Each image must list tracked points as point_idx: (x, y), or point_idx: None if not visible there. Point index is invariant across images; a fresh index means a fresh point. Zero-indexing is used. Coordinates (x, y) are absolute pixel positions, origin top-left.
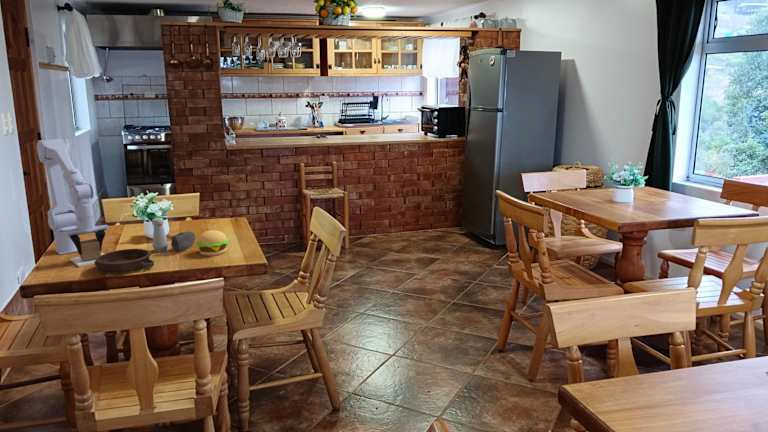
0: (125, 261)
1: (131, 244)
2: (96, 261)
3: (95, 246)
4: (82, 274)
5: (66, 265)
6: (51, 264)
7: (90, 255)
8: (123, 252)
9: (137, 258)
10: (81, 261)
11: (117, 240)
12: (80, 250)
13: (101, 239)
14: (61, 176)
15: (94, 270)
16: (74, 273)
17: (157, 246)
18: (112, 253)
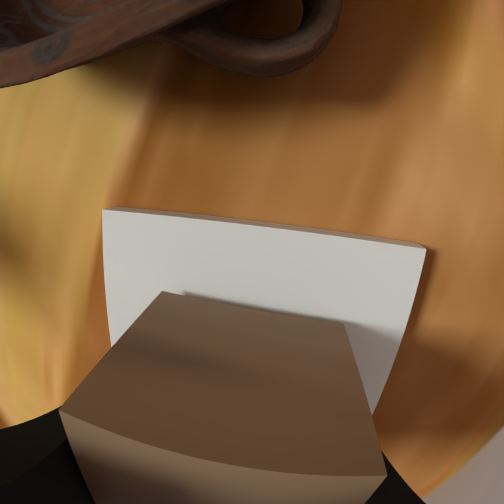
0: (68, 14)
1: (9, 421)
2: (309, 20)
3: (151, 388)
4: (458, 7)
5: (434, 378)
6: (451, 449)
7: (265, 337)
8: (2, 48)
9: (9, 6)
10: None
11: None
12: None
13: (20, 438)
14: None
15: (352, 11)
16: (499, 90)
17: None
18: (75, 25)
